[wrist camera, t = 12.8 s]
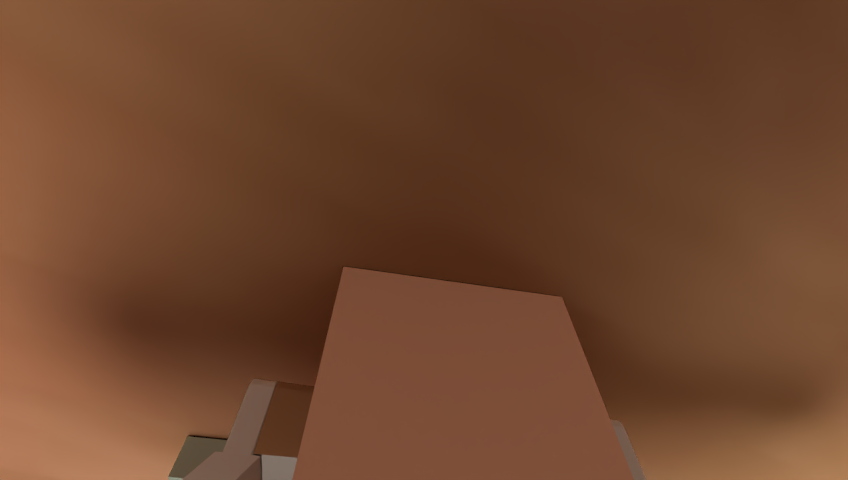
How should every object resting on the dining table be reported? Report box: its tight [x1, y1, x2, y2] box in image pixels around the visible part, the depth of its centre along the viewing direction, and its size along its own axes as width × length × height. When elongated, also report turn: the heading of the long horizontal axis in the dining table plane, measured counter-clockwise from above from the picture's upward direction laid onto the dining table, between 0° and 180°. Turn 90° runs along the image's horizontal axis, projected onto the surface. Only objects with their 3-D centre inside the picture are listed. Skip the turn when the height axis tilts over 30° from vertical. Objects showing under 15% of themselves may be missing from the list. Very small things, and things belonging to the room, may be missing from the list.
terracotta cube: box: [292, 266, 634, 480], centre depth 9 cm, size 5×5×5 cm
